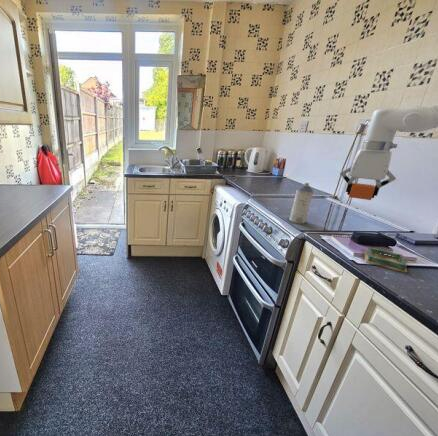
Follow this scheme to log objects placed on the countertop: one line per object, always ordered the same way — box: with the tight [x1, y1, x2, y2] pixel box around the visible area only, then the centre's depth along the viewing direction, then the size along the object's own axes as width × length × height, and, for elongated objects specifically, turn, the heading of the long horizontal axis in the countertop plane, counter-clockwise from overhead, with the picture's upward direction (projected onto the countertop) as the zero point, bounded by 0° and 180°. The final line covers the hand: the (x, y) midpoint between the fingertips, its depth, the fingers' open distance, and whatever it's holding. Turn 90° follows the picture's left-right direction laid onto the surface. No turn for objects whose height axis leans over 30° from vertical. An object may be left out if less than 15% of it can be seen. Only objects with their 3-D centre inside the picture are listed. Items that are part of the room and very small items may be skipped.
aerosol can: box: [288, 182, 314, 225], centre depth 120 cm, size 7×7×20 cm
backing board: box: [363, 246, 408, 274], centre depth 88 cm, size 11×11×3 cm
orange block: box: [348, 182, 375, 201], centre depth 92 cm, size 6×6×4 cm
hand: (360, 195), depth 93 cm, fingers closed on orange block, 6 cm apart
